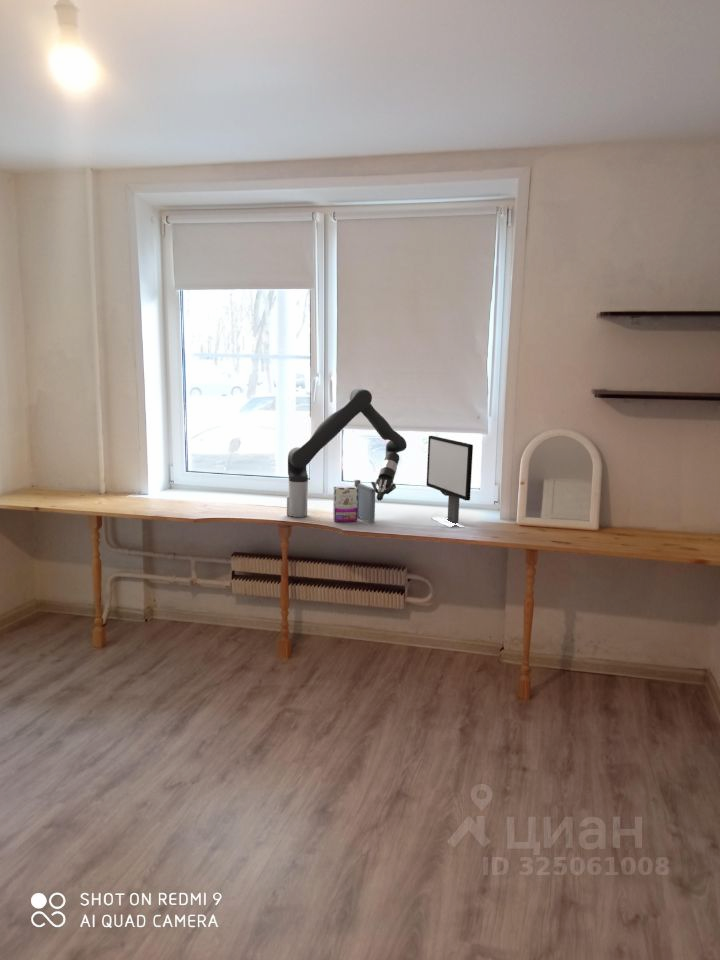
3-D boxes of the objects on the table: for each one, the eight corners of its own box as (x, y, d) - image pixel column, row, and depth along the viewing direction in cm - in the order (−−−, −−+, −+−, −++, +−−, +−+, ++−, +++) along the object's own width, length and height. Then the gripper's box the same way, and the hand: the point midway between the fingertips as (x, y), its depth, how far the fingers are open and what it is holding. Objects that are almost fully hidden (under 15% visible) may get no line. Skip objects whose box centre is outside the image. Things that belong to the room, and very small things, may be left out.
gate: (356, 515, 340) (357, 483, 337) (359, 515, 341) (360, 483, 338) (370, 523, 325) (372, 489, 322) (374, 523, 325) (375, 489, 323)
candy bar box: (355, 519, 335) (356, 486, 333) (357, 521, 331) (358, 487, 328) (332, 519, 333) (333, 486, 331) (334, 522, 328) (335, 488, 326)
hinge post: (352, 516, 342) (353, 480, 339) (354, 515, 344) (355, 479, 342) (357, 517, 341) (359, 481, 338) (360, 516, 343) (361, 480, 340)
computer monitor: (421, 514, 352) (424, 435, 346) (436, 513, 355) (439, 435, 348) (460, 533, 314) (465, 444, 308) (476, 532, 317) (481, 444, 311)
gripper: (373, 465, 344) (364, 493, 334) (399, 467, 339) (390, 496, 330) (377, 474, 349) (367, 502, 340) (402, 476, 345) (393, 505, 335)
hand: (379, 499), depth 335 cm, fingers closed
